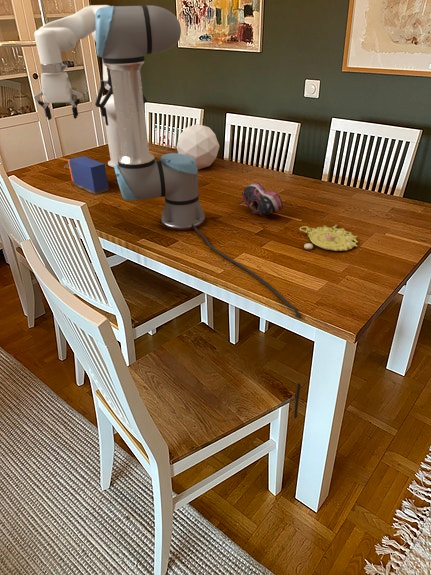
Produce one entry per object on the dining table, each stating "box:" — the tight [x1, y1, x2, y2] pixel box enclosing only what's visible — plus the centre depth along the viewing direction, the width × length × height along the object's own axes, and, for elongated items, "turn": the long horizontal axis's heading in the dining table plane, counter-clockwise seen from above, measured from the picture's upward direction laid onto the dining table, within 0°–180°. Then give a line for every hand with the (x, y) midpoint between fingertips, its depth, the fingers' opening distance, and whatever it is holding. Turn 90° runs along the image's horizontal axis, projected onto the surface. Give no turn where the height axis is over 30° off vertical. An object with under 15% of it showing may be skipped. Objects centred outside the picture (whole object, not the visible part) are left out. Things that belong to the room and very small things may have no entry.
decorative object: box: [299, 224, 359, 252], centre depth 141 cm, size 21×2×20 cm
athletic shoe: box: [238, 182, 284, 217], centre depth 160 cm, size 11×22×12 cm
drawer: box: [63, 159, 74, 183], centre depth 190 cm, size 22×5×9 cm, turn 44°
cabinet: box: [68, 155, 110, 195], centre depth 186 cm, size 17×7×11 cm, turn 44°
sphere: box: [175, 123, 221, 170], centre depth 203 cm, size 19×20×20 cm
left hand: (62, 118), depth 169 cm, fingers open, 9 cm apart
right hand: (124, 123), depth 180 cm, fingers open, 13 cm apart
